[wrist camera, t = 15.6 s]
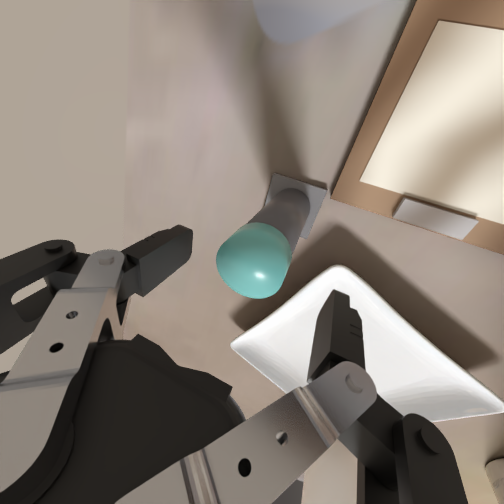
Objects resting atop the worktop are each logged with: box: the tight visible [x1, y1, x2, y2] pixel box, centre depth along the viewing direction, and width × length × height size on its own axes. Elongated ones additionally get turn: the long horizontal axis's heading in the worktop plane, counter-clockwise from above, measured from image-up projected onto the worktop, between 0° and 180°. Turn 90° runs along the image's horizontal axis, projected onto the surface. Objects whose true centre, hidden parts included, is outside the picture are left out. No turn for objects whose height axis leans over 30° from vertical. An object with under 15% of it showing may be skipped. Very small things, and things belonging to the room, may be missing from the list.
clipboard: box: [330, 0, 504, 255], centre depth 13 cm, size 15×13×1 cm
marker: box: [216, 188, 310, 299], centre depth 16 cm, size 4×4×11 cm
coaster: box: [265, 173, 327, 239], centre depth 20 cm, size 5×5×1 cm
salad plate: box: [230, 265, 504, 422], centre depth 26 cm, size 21×21×3 cm
